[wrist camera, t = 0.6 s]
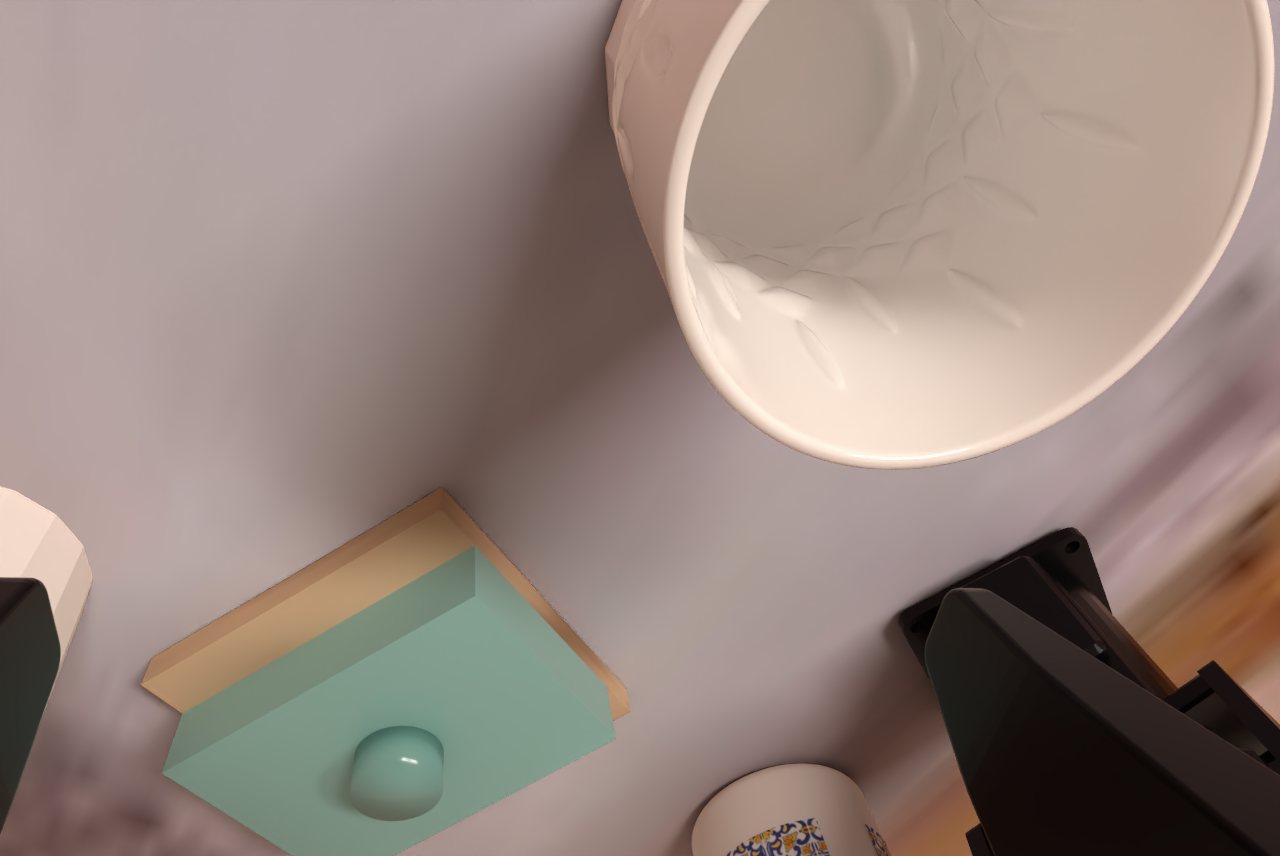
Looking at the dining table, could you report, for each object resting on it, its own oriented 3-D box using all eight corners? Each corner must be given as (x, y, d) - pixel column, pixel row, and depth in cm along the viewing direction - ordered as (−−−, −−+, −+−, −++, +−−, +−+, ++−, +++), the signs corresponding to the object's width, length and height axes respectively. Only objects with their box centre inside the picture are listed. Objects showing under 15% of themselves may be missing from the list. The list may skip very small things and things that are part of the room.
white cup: (725, 305, 22) (883, 557, 14) (498, 62, 18) (524, 206, 10) (983, 80, 20) (1350, 212, 12) (791, -244, 16) (1129, -387, 8)
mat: (626, 687, 29) (630, 712, 28) (378, 820, 30) (375, 847, 29) (442, 486, 23) (441, 509, 23) (151, 658, 25) (140, 685, 24)
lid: (606, 686, 27) (622, 774, 24) (346, 826, 28) (333, 924, 26) (475, 545, 23) (475, 630, 21) (182, 713, 25) (147, 813, 22)
